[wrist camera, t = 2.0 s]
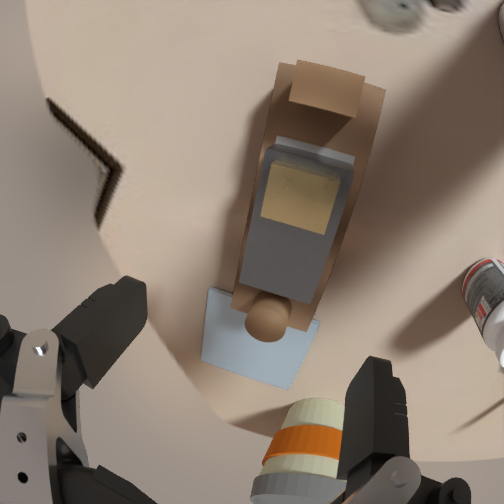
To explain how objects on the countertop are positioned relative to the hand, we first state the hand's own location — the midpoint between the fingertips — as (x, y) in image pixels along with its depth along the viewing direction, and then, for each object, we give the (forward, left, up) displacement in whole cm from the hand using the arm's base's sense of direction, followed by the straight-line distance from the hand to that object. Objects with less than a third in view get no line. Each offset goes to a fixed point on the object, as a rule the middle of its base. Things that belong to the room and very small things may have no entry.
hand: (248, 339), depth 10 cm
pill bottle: (+2, +20, -17) cm, 26 cm away
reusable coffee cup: (+29, +11, -17) cm, 35 cm away
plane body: (0, 0, -17) cm, 17 cm away
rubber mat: (+18, -1, -17) cm, 25 cm away
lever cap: (0, 0, -12) cm, 12 cm away
